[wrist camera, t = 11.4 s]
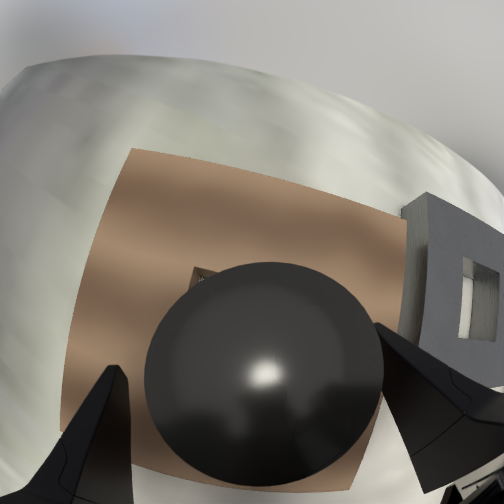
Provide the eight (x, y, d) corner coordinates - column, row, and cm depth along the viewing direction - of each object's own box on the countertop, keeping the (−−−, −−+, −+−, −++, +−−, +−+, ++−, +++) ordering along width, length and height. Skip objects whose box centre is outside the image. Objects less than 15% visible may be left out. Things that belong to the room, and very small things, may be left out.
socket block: (481, 382, 17) (505, 385, 14) (379, 385, 16) (407, 395, 13) (492, 250, 21) (514, 241, 17) (401, 208, 20) (426, 191, 17)
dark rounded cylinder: (276, 352, 16) (404, 420, 4) (216, 375, 16) (208, 509, 3) (252, 294, 17) (334, 228, 5) (192, 317, 16) (108, 312, 4)
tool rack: (330, 467, 15) (349, 489, 11) (83, 415, 14) (59, 430, 10) (380, 235, 19) (406, 220, 16) (144, 174, 18) (132, 148, 15)
